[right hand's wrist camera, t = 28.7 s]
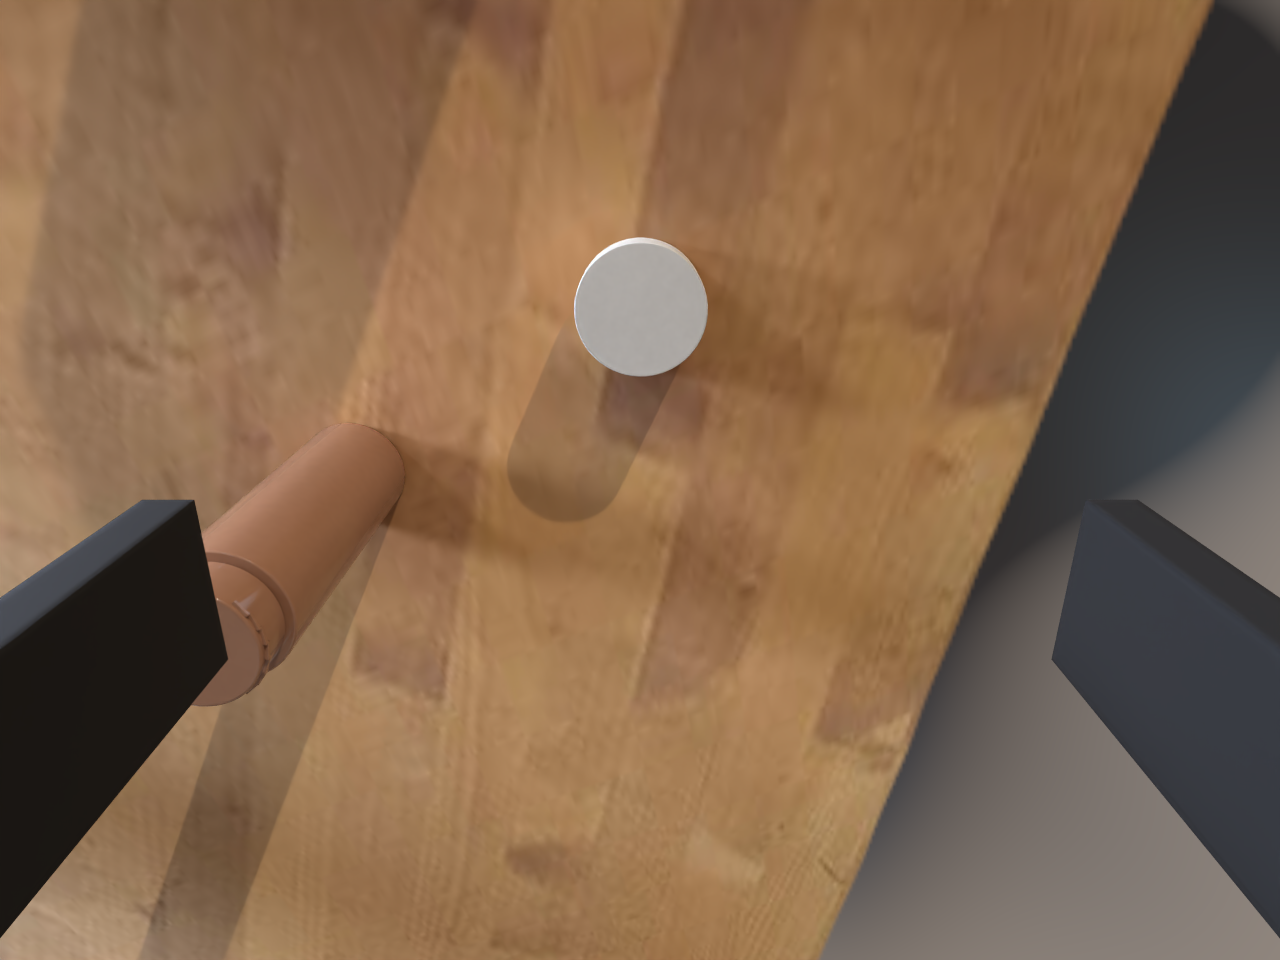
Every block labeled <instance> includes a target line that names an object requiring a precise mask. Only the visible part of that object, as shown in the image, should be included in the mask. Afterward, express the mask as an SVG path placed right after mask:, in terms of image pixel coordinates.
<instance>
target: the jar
mask: <svg viewBox="0 0 1280 960" xmlns="http://www.w3.org/2000/svg"><path fill="white" fill-rule="evenodd" d="M404 483H405V470H404V465H403V462H402V459H401V457H400V455H399V453H398V451H397V450H396V448H395V447H394V446H393V444H392V443H391V442H390V441H389V440H388V439H387V438H386V437H385V436H383V435H382V434H380V433H379V432H377V431H375V430H374V429H371V428H369V427H367V426H363V425H360V424H354V423H342V424H336V425H332V426H329V427H327V428H325V429H323V430H321V431H320V432H318V433H317V434H316V435H315V436H313V437H312V438H311V439H310V440H309V441H308V442H306V443H305V444H304V445H303V446H302V447H301V448H299V449H298V450H297V451H296V452H295V453H294V454H292V455H291V456H290V457H289V458H288V459H287V460H285V461H284V462H283V463H282V464H281V465H280V466H278V467H277V468H276V469H275V470H274V471H273V472H271V473H270V474H269V475H268V476H267V477H266V478H264V479H263V480H262V481H261V482H260V483H259V484H258V485H256V486H255V487H254V488H253V489H252V490H251V491H249V492H248V493H247V494H246V495H245V496H244V497H242V498H241V499H240V500H239V501H238V502H237V503H235V504H234V505H233V506H232V507H231V508H230V509H228V510H227V511H226V512H225V513H224V514H223V515H221V516H220V517H219V518H218V519H217V520H216V521H214V522H213V523H212V524H211V525H210V526H209V527H207V528H206V529H205V530H204V531H203V532H202V533H201V534H202V539H203V543H204V548H205V553H206V557H207V562H208V567H209V571H210V576H211V581H212V585H213V590H214V595H215V599H216V604H217V609H218V613H219V618H220V623H221V627H222V632H223V637H224V641H225V646H226V651H227V655H228V660H227V662H226V663H225V664H224V665H223V667H222V668H221V669H220V670H219V671H218V673H217V674H216V675H215V676H214V678H213V679H212V680H211V681H210V682H209V684H208V685H207V686H206V687H205V689H204V690H203V691H202V692H201V693H200V695H199V696H198V697H197V698H196V700H195V701H194V702H193V703H192V704H191V705H194V706H217V705H222V704H225V703H228V702H231V701H234V700H236V699H238V698H240V697H241V696H243V695H244V694H247V693H249V692H250V691H251V690H252V689H253V688H255V687H256V686H257V685H259V684H260V682H261V681H262V679H263V678H264V676H265V674H266V673H267V672H269V671H271V670H272V669H274V668H275V667H277V666H278V665H279V664H281V663H282V662H283V661H284V660H285V659H286V657H287V656H288V655H289V653H290V652H291V651H292V649H293V648H294V646H295V645H296V643H297V642H298V641H299V639H300V638H301V636H302V635H303V634H304V632H305V631H306V629H307V628H308V626H309V625H310V624H311V622H312V621H313V619H314V618H315V617H316V615H317V614H318V612H319V611H320V609H321V608H322V607H323V605H324V604H325V602H326V601H327V600H328V598H329V597H330V595H331V594H332V592H333V591H334V590H335V588H336V587H337V585H338V584H339V582H340V581H341V580H342V578H343V577H344V575H345V574H346V573H347V571H348V570H349V568H350V567H351V565H352V564H353V563H354V561H355V560H356V558H357V557H358V556H359V554H360V553H361V551H362V550H363V548H364V547H365V546H366V544H367V543H368V541H369V540H370V539H371V537H372V536H373V534H374V533H375V531H376V530H377V529H378V527H379V526H380V524H381V523H382V522H383V520H384V519H385V517H386V516H387V514H388V513H389V512H390V510H391V509H392V507H393V506H394V504H395V503H396V502H397V500H398V499H399V497H400V495H401V493H402V491H403V487H404Z"/></svg>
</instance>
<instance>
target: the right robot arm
mask: <svg viewBox="0 0 1280 960" xmlns="http://www.w3.org/2000/svg"><path fill="white" fill-rule="evenodd" d="M227 660H228V655H227V651H226V646H225V641H224V637H223V632H222V627H221V623H220V618H219V613H218V609H217V604H216V599H215V595H214V590H213V585H212V581H211V576H210V571H209V567H208V562H207V557H206V553H205V548H204V543H203V539H202V534H201V529H200V525H199V520H198V515H197V511H196V506H195V501H194V500H141V501H140V502H138V503H137V504H135V505H134V506H133V507H131V508H130V509H128V510H127V511H125V512H124V513H122V514H121V515H120V516H118V517H117V518H115V519H114V520H112V521H111V522H109V523H108V524H107V525H105V526H104V527H102V528H101V529H99V530H98V531H96V532H95V533H93V534H92V535H91V536H89V537H88V538H86V539H85V540H83V541H82V542H80V543H79V544H78V545H76V546H75V547H73V548H72V549H70V550H69V551H67V552H66V553H64V554H63V555H62V556H60V557H59V558H57V559H56V560H54V561H53V562H51V563H50V564H49V565H47V566H46V567H44V568H43V569H41V570H40V571H38V572H37V573H36V574H34V575H33V576H31V577H30V578H28V579H27V580H25V581H24V582H22V583H21V584H20V585H18V586H17V587H15V588H14V589H12V590H11V591H9V592H8V593H7V594H5V595H4V596H2V597H1V598H0V938H1V937H2V935H3V934H4V933H5V932H6V930H7V929H8V928H9V927H10V926H11V924H12V923H13V922H14V921H15V919H16V918H17V917H18V916H19V915H20V913H21V912H22V911H23V910H24V908H25V907H26V906H27V905H28V904H29V902H30V901H31V900H32V899H33V897H34V896H35V895H36V894H37V893H38V891H39V890H40V889H41V888H42V886H43V885H44V884H45V883H46V882H47V880H48V879H49V878H50V877H51V875H52V874H53V873H54V872H55V871H56V869H57V868H58V867H59V866H60V864H61V863H62V862H63V861H64V860H65V858H66V857H67V856H68V855H69V853H70V852H71V851H72V850H73V849H74V847H75V846H76V845H77V844H78V842H79V841H80V840H81V839H82V838H83V836H84V835H85V834H86V833H87V831H88V830H89V829H90V828H91V827H92V825H93V824H94V823H95V822H96V820H97V819H98V818H99V817H100V816H101V814H102V813H103V812H104V811H105V809H106V808H107V807H108V806H109V805H110V803H111V802H112V801H113V800H114V798H115V797H116V796H117V795H118V794H119V792H120V791H121V790H122V789H123V787H124V786H125V785H126V784H127V783H128V781H129V780H130V779H131V778H132V776H133V775H134V774H135V773H136V772H137V770H138V769H139V768H140V767H141V765H142V764H143V763H144V762H145V761H146V759H147V758H148V757H149V756H150V754H151V753H152V752H153V751H154V750H155V748H156V747H157V746H158V745H159V744H160V742H161V741H162V740H163V739H164V737H165V736H166V735H167V734H168V733H169V731H170V730H171V729H172V728H173V726H174V725H175V724H176V723H177V722H178V720H179V719H180V718H181V717H182V715H183V714H184V713H185V712H186V711H187V709H188V708H189V707H190V706H191V704H192V703H193V702H194V701H195V700H196V698H197V697H198V696H199V695H200V693H201V692H202V691H203V690H204V689H205V687H206V686H207V685H208V684H209V682H210V681H211V680H212V679H213V678H214V676H215V675H216V674H217V673H218V671H219V670H220V669H221V668H222V667H223V665H224V664H225V663H226V662H227ZM1052 660H1053V662H1054V663H1055V664H1056V665H1057V667H1058V668H1059V669H1060V670H1061V671H1062V673H1063V674H1064V675H1065V676H1066V678H1067V679H1068V680H1069V681H1070V682H1071V684H1072V685H1073V686H1074V687H1075V688H1076V690H1077V691H1078V692H1079V693H1080V695H1081V696H1082V697H1083V698H1084V700H1085V701H1086V702H1087V703H1088V704H1089V706H1090V707H1091V708H1092V709H1093V710H1094V712H1095V713H1096V714H1097V715H1098V717H1099V718H1100V719H1101V720H1102V721H1103V723H1104V724H1105V725H1106V726H1107V728H1108V729H1109V730H1110V731H1111V733H1112V734H1113V735H1114V736H1115V737H1116V739H1117V740H1118V741H1119V742H1120V744H1121V745H1122V746H1123V747H1124V748H1125V750H1126V751H1127V752H1128V753H1129V754H1130V756H1131V757H1132V758H1133V759H1134V761H1135V762H1136V763H1137V764H1138V765H1139V767H1140V768H1141V769H1142V770H1143V772H1144V773H1145V774H1146V775H1147V776H1148V778H1149V779H1150V780H1151V781H1152V783H1153V784H1154V785H1155V786H1156V787H1157V789H1158V790H1159V791H1160V792H1161V794H1162V795H1163V796H1164V797H1165V798H1166V800H1167V801H1168V802H1169V803H1170V805H1171V806H1172V807H1173V808H1174V809H1175V811H1176V812H1177V813H1178V814H1179V816H1180V817H1181V818H1182V819H1183V820H1184V822H1185V823H1186V824H1187V825H1188V827H1189V828H1190V829H1191V830H1192V831H1193V833H1194V834H1195V835H1196V836H1197V838H1198V839H1199V840H1200V841H1201V842H1202V844H1203V845H1204V846H1205V847H1206V849H1207V850H1208V851H1209V852H1210V853H1211V855H1212V856H1213V857H1214V858H1215V860H1216V861H1217V862H1218V863H1219V864H1220V866H1221V867H1222V868H1223V869H1224V871H1225V872H1226V873H1227V874H1228V875H1229V877H1230V878H1231V879H1232V880H1233V882H1234V883H1235V884H1236V885H1237V886H1238V888H1239V889H1240V890H1241V891H1242V893H1243V894H1244V895H1245V896H1246V897H1247V899H1248V900H1249V901H1250V902H1251V904H1252V905H1253V906H1254V907H1255V908H1256V910H1257V911H1258V912H1259V913H1260V915H1261V916H1262V917H1263V918H1264V919H1265V921H1266V922H1267V923H1268V924H1269V926H1270V927H1271V928H1272V929H1273V930H1274V932H1275V933H1276V934H1277V935H1278V937H1279V938H1280V598H1279V597H1278V596H1276V595H1275V594H1273V593H1272V592H1271V591H1269V590H1268V589H1266V588H1265V587H1263V586H1262V585H1260V584H1259V583H1258V582H1256V581H1255V580H1253V579H1252V578H1250V577H1249V576H1247V575H1246V574H1244V573H1243V572H1242V571H1240V570H1239V569H1237V568H1236V567H1234V566H1233V565H1231V564H1230V563H1229V562H1227V561H1226V560H1224V559H1223V558H1221V557H1220V556H1218V555H1217V554H1215V553H1214V552H1213V551H1211V550H1210V549H1208V548H1207V547H1205V546H1204V545H1202V544H1201V543H1200V542H1198V541H1197V540H1195V539H1194V538H1192V537H1191V536H1189V535H1188V534H1186V533H1185V532H1184V531H1182V530H1181V529H1179V528H1178V527H1176V526H1175V525H1173V524H1172V523H1171V522H1169V521H1168V520H1166V519H1165V518H1163V517H1162V516H1160V515H1159V514H1158V513H1156V512H1155V511H1153V510H1152V509H1150V508H1149V507H1147V506H1146V505H1144V504H1143V503H1142V502H1140V501H1139V500H1086V501H1085V506H1084V511H1083V515H1082V520H1081V525H1080V530H1079V534H1078V539H1077V544H1076V548H1075V553H1074V557H1073V562H1072V567H1071V571H1070V576H1069V581H1068V586H1067V590H1066V595H1065V599H1064V604H1063V609H1062V613H1061V618H1060V623H1059V627H1058V632H1057V637H1056V642H1055V646H1054V651H1053V656H1052Z"/></svg>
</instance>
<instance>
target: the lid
mask: <svg viewBox="0 0 1280 960" xmlns="http://www.w3.org/2000/svg"><path fill="white" fill-rule="evenodd" d="M574 313H575V322H576V327H577V330H578V333H579V335H580V337H581V340H582V342H583V343H584V345H585V347H586V348H587V350H588V351H589V352H590V353H591V354H592V356H593V357H595V358H596V359H597V360H598V361H599V362H600V363H602V364H603V365H604V366H606V367H608V368H609V369H611V370H613V371H616V372H618V373H621V374H625V375H629V376H638V377H642V376H653V375H657V374H661V373H664V372H666V371H669V370H671V369H673V368H674V367H676V366H678V365H679V364H681V363H682V362H683V361H684V360H686V359H687V358H688V357H689V356H690V355H691V353H692V352H693V351H694V350H695V348H696V347H697V345H698V344H699V342H700V340H701V338H702V336H703V333H704V330H705V327H706V323H707V316H708V303H707V296H706V292H705V288H704V286H703V283H702V281H701V279H700V277H699V275H698V273H697V271H696V269H695V267H694V266H693V264H692V263H691V262H690V260H689V259H688V258H687V257H686V256H685V255H684V254H683V253H682V252H680V251H679V250H678V249H676V248H675V247H673V246H671V245H670V244H668V243H665V242H663V241H660V240H656V239H652V238H631V239H626V240H623V241H619V242H617V243H615V244H613V245H611V246H609V247H607V248H606V249H604V250H603V251H602V252H601V253H599V254H598V255H597V256H596V257H595V258H594V259H593V261H592V262H591V263H590V265H589V266H588V268H587V269H586V271H585V273H584V275H583V277H582V279H581V281H580V283H579V286H578V289H577V292H576V297H575V306H574Z"/></svg>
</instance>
